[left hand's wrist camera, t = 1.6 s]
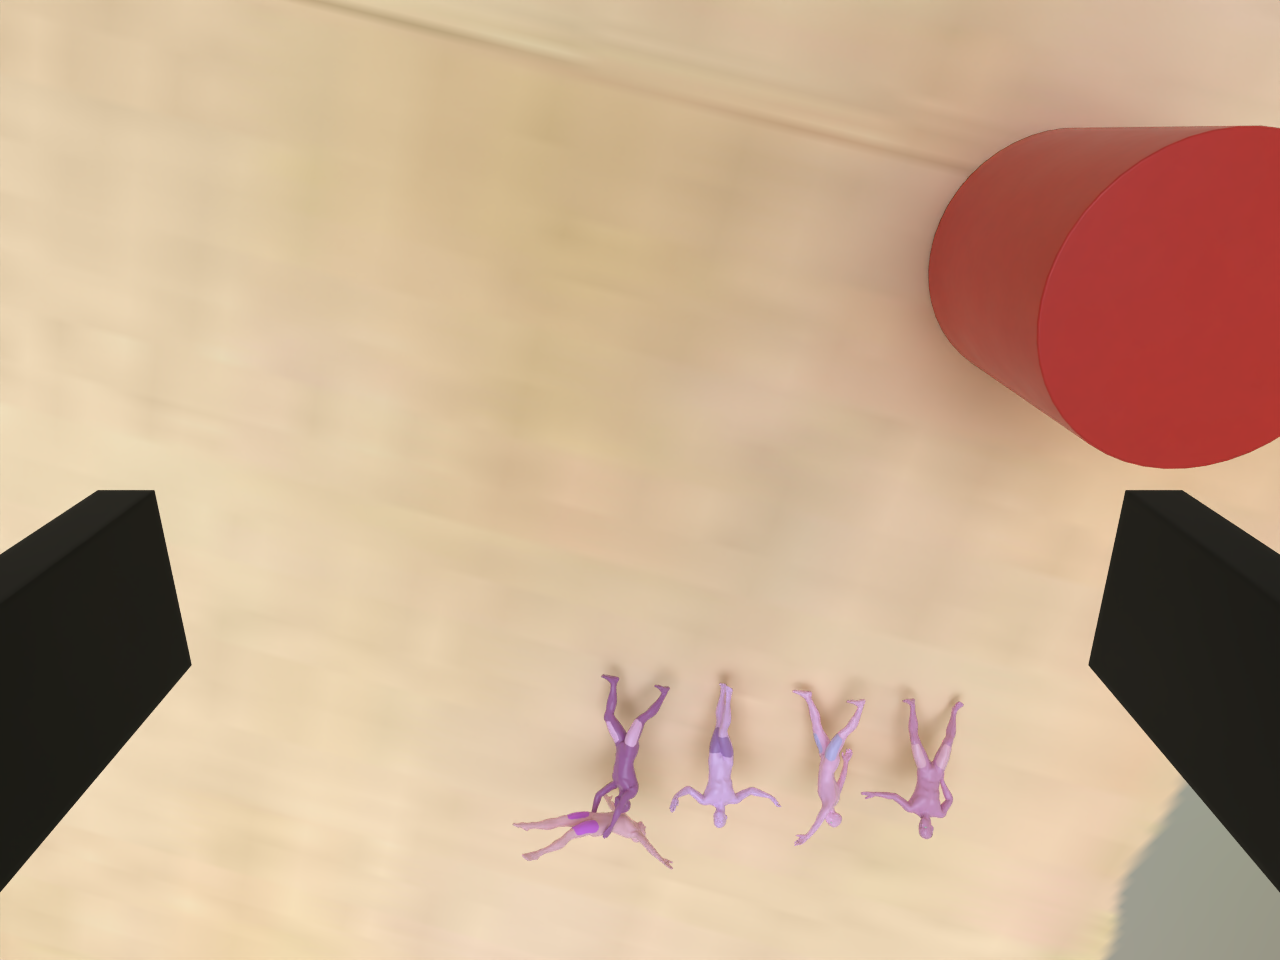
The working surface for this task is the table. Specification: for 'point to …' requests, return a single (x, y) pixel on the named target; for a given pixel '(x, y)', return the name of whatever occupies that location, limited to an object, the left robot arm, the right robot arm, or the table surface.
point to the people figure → (722, 790)
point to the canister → (1125, 285)
